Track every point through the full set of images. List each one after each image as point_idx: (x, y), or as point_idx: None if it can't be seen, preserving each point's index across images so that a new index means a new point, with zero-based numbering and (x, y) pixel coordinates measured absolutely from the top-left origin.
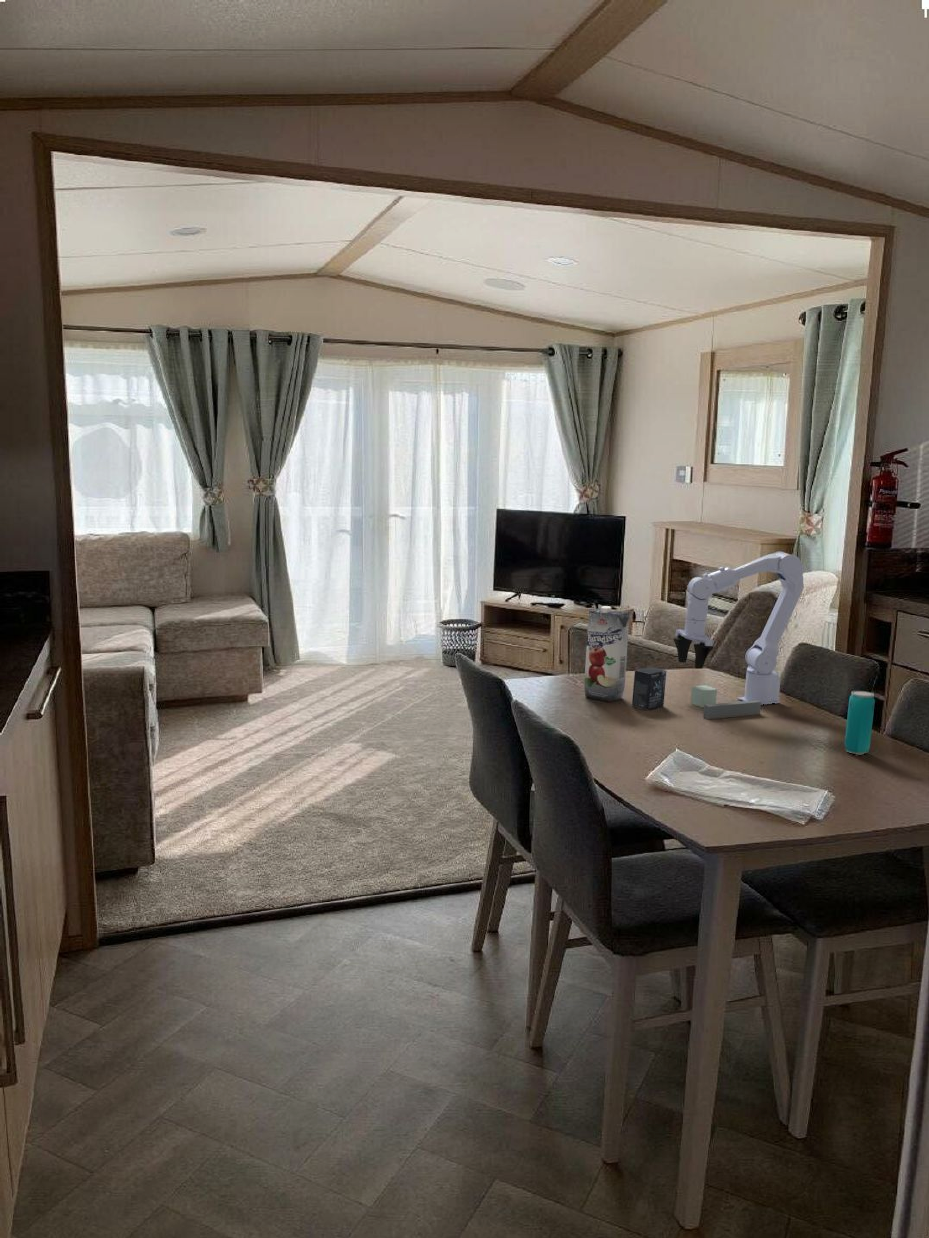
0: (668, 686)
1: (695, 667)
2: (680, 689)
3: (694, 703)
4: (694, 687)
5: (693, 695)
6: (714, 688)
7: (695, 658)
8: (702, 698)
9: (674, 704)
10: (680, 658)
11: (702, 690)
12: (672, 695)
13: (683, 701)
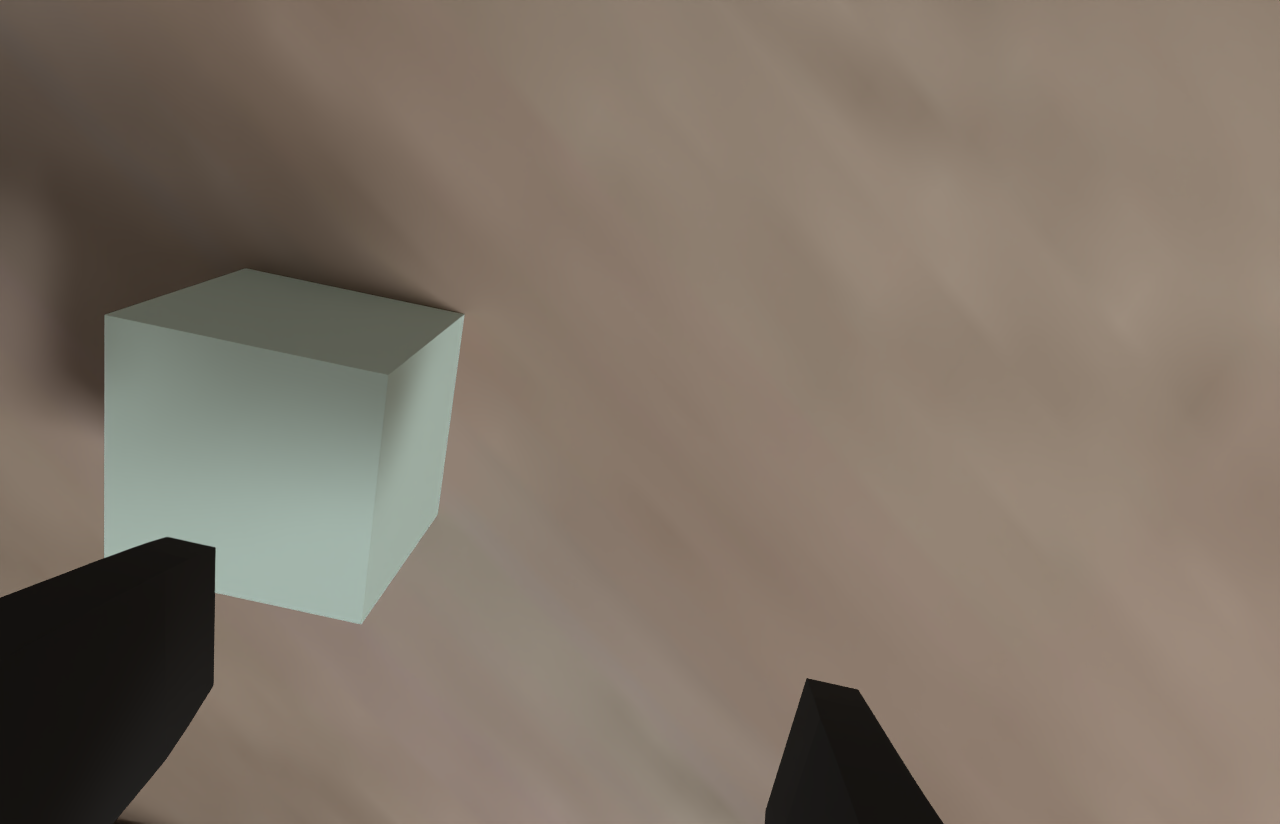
0: (1194, 722)
1: (190, 547)
2: (1002, 727)
3: (381, 300)
4: (319, 358)
5: (379, 330)
6: None
7: (6, 652)
8: (181, 294)
9: (501, 46)
10: (816, 748)
11: (115, 315)
12: (858, 413)
13: (564, 295)
